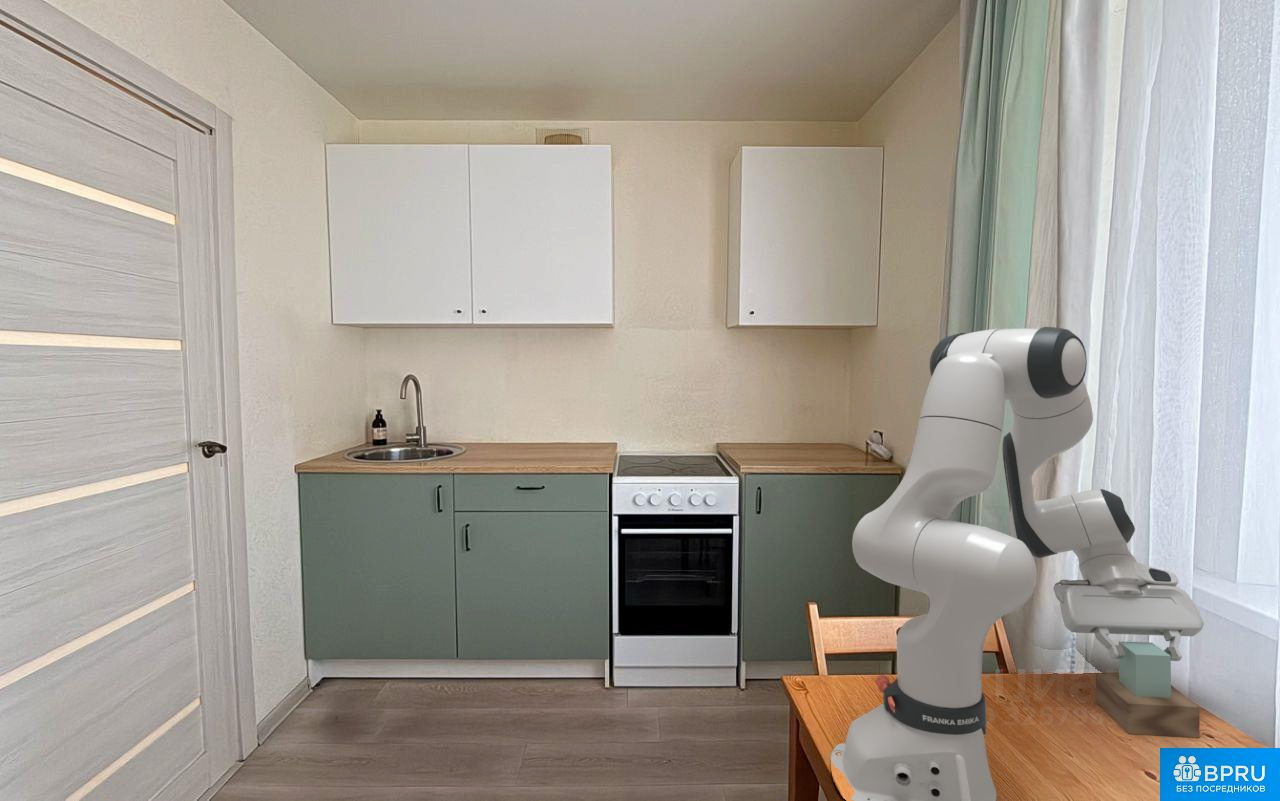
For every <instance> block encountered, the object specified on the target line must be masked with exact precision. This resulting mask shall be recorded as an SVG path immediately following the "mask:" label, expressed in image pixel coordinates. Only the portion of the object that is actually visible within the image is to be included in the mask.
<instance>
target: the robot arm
mask: <svg viewBox="0 0 1280 801" xmlns="http://www.w3.org/2000/svg"><path fill="white" fill-rule="evenodd" d="M930 355H931V356H930V359H929V370H930V376H931V377H930V380H929V384H928V386H927V389H926V392H925V395H924V398H923V402H922V405H921V410H920V414H919V417H918V418H919V419H918V424H917V429H916V434H915V439H914V442H913V448H912V453H911V456H910V460H909V464H908V466H907V469H906V471H905V474H904V475H903V477H902V479H901V481H900V483H899V485H897V487H896V489H895V490H894V491H893V493H892V494H891V495H890V496H889V498H888V499H886V500H885V502H884V503H883V504H881V505H880V506H879V507H877V508H875V509H874V510H872V511H869V512H868V513H867V514H864V516H863V517H862V518H861V519H860V520H859V521H858V523H857V525H856V527H854V528H855V529H854V530H853V532H852V533H853V534H852V541H851V544H852V545H851V547H852V554H853V557H854V559H855V561H856V563H857V564H858V566H859V567H860V568H861V569H862V570H864V571H865V572H867V573H869V574H871V575H872V576H874V577H876V578H879V580H882V581H884V582H886V583H888V584H892V585H895V586H897V587H898V586H899V587H902V588H905V589H908V590H913V591H915V592H919V593H923V594H925V595H927V597H928V600H929V609H928V613H924V614H919V615H917V616H914V617H912V618H910V619H908V620H907V621H905V622H904V623H903V624H902V625H901V628H899V630H898V633H897V635H896V665H897V666H896V667H897V668H896V669H897V670H896V671H897V673H896V674H897V678H896V679H895V680H893V682H890V678H888V676H887V675H885V674H879V675H878V676H877V677H876V678H875V684H876V686H877V689H878V690H879V692H881V694H882V695H883V697H882V699H883V700H882V701H883V703H882V704H880V705H879V706H876V707H875V708H873V709H872V710H869V711H867V712H866V713H865V714H864V713H863V715H861V716H858V717H857V718H855V719H854V720H853V721H852V722H851V723H850V725H849V728H848V730H847V734H846V740H845V742H841V743H838V744H836V745H835V747H834V748H833V750H832V751H831V754H830V760H831V762H832V763H833V764H834V766H835V768H838V769H839V771H840V772H841V771H842V772H843V774H844V776H845V777H846V779H847V781H848V782H849V784H850V785H851V786H852V789H854V792H855V794H854V795H853V796H852V798H851V800H853V801H997V797H998V794H997V789H996V786H995V784H994V780H993V778H992V774H991V769H990V766H989V761H988V756H987V750H986V741H985V735H986V734H987V721H988V718H987V717H988V716H987V715H988V714H987V712H988V711H987V702H986V697H985V694H984V693H983V692H982V685H983V684H982V678H983V677H982V675H983V674H982V673H983V672H982V669H983V653H984V645H985V641H986V640H987V636H988V633H989V632H990V630H991V629H992V627H993V626H994V625H995V623H997V622H998V620H999V619H1002V617H1004V616H1006V615H1008V614H1009V613H1012V612H1015V611H1017V610H1018V609H1020V608H1021V607H1022V606H1023V605H1025V604H1026V603H1027V602H1028V601H1029V600H1030V598H1031V597H1032V595H1033V593H1034V591H1035V589H1036V585H1037V581H1038V571H1037V570H1038V569H1037V564H1036V561H1035V558H1037V559H1042V558H1045V557H1050V556H1053V555H1057V554H1059V553H1065V552H1070V551H1072V552H1073V553H1074V554H1075V555H1076V557H1077V560H1078V568H1079V571H1080V574H1081V577H1082V579H1071V580H1070V579H1060V580H1059V581H1058V582H1056V583H1054V585H1053V592H1054V595H1055V598H1056V599H1057V600H1058V601H1059V606H1060V613H1061V616H1062V620H1063V623H1064V627H1065V628H1066V629H1067V630H1068V631H1070V632H1071V633H1075V634H1076V633H1077V634H1078V633H1080V634H1081V633H1082V634H1094V637H1095V639H1096V640H1097V641H1098V642H1099V643H1100V644H1101V645H1102V646H1103V647H1105V648H1106V649H1107V651H1108V654H1109V656H1110V658H1111V659H1115V660H1119V659H1123V657H1125V653H1124V651H1122V650H1123V648H1122V646H1121V645H1119V644H1116V643H1115V642H1114V641H1113V640H1112V639H1111V638H1110V637H1109V636H1110V635H1111V634H1112V635H1115V634H1116V635H1132V636H1133V635H1136V636H1137V635H1139V636H1142V635H1143V636H1163V638H1164V640H1165V641H1166V642H1169V645H1168V646H1167V647H1166V648H1165V649H1164V650H1163V651H1165V652H1166V653H1167V654H1169V655H1170V656H1171V662H1180V661H1181V660H1182V659H1183V658H1182V657H1183V656H1182V653H1181V651H1180V649H1179V646H1180V643H1181V642H1180V641H1181V637H1194V636H1196V635H1197V634H1198V633H1200V632H1201V631H1202V629H1203V627H1204V621H1203V618H1202V616H1201V614H1200V612H1199V610H1198V608H1197V606H1196V604H1195V602H1194V601H1193V600H1192V597H1190V595H1189V594H1188V593H1187V592H1186V591H1185V590H1184V589H1183V588H1181V587H1180V586H1177V585H1178V584H1179V579H1178V577H1177V574H1175V573H1174V572H1172V571H1169V570H1164V569H1161V568H1160V569H1159V568H1156V567H1152V566H1150V565H1145V564H1143V563H1141V562H1137V559H1136V558H1135V556H1134V555H1132V553H1131V552H1130V550H1129V547H1128V544H1129V542H1130V541H1131V540H1132V537H1133V535H1134V533H1135V531H1136V527H1135V525H1134V523H1133V522H1132V520H1131V518H1130V516H1129V515H1128V513H1127V511H1126V508H1125V505H1124V502H1123V500H1122V498H1121V497H1120V496H1118V495H1116V494H1115V493H1113V492H1110V491H1108V490H1106V489H1102V488H1100V489H1096V488H1095V489H1090V490H1085V491H1081V492H1076V493H1071V494H1068V495H1062V496H1059V497H1057V496H1056V497H1054V498H1048V499H1044V500H1035V496H1034V488H1033V487H1034V486H1033V475H1034V473H1035V472H1036V471H1037V470H1038V469H1039V468H1041V466H1043V465H1044V464H1045V463H1047V462H1049V461H1050V460H1052V459H1054V458H1055V457H1057V456H1059V455H1060V454H1063V453H1065V452H1067V451H1069V450H1071V449H1072V448H1074V447H1075V446H1076V445H1077V444H1078V443H1080V441H1082V440H1083V439H1084V437H1085V436H1086V435H1087V434H1088V433H1089V431H1090V429H1091V427H1092V424H1093V420H1094V419H1093V418H1094V416H1093V415H1094V414H1093V409H1092V402H1091V399H1090V395H1089V392H1088V389H1087V387H1086V383H1085V381H1084V378H1085V376H1086V372H1087V366H1088V364H1087V360H1088V358H1087V352H1086V349H1085V345H1084V343H1083V341H1082V340H1081V339H1080V337H1078V336H1077V335H1076V334H1075V333H1073V332H1072V331H1071V330H1069V329H1067V328H1062V327H1055V326H1043V327H1040V328H1027V327H1026V328H1025V327H1024V328H1001V327H1000V328H993V329H992V328H991V329H985V330H977V331H973V332H968V333H966V332H959V333H956V334H953V335H952V334H951V335H949V336H946V337H944V338H942V339H941V340H940V341H938V343H937V345H936V346H935V347H934V348H933V350H932V353H931V354H930ZM1006 400H1008V401H1009V403H1010V407H1011V409H1012V412H1013V424H1012V426H1011V429H1010V431H1008V433H1006V434H1005V435H1004V436H1003V438H1002V432H1003V425H1004V418H1005V403H1006V402H1005V401H1006ZM1001 438H1002V439H1001ZM1001 440H1002V449H1001V450H1002V459H1003V469H1004V476H1005V483H1006V489H1007V490H1006V491H1007V497H1008V504H1009V530H1010V533H1011V535H1009V534H1006V533H1004V532H1001V531H998V530H995V529H993V528H990V527H988V526H983V525H977V524H972V523H966V522H961V521H956V520H949V519H950V517H951V515H952V513H953V511H954V510H955V509H956V507H957V506H958V505H959V504H960V503H961V502H963V500H966V499H968V498H970V497H973V496H977V495H979V494H981V493H983V492H984V491H986V490H987V489H988V488H989V487H990V486H991V484H992V483H993V482H994V479H995V475H996V469H997V463H998V458H999V452H1000V451H999V450H1000V444H1001ZM836 753H840V754H841V755H840V756H838V755H836ZM854 792H853V793H854Z"/></svg>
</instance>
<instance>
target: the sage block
mask: <svg viewBox="0 0 1280 801" xmlns="http://www.w3.org/2000/svg"><path fill="white" fill-rule="evenodd" d="M1118 645H1121V646H1122V648H1123V650H1122V651H1124V653H1125V657H1123V659H1118V660H1119V661H1118V667H1119V668H1118V675H1119V682H1120V683H1122V684H1123V685H1124V686H1125V687H1126V688H1127V689H1128V690H1129V691H1131V692H1132V693H1133V694H1134V695H1135V696H1139V697H1160V698H1171V685H1172V682H1171V680H1172V676H1171V675H1172V672H1171V671H1172V667H1171V666H1172V665H1171V664H1172V661H1171V656H1170V655H1169V654H1167V653H1166V652H1165V651H1164V650H1163V649H1162V648H1161V647H1159V646H1157V645H1156V644H1155V643H1153V642H1144V641H1143V642H1141V641H1140V642H1139V641H1118Z"/></svg>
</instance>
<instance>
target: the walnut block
mask: <svg viewBox="0 0 1280 801" xmlns="http://www.w3.org/2000/svg"><path fill="white" fill-rule="evenodd" d="M1095 702H1096V703H1097V704H1098V706H1100V707H1101V708H1102V709H1103V710H1104V712H1105V713H1107V714H1108V715H1109V716H1110V717H1111V718H1112V719H1113V720H1114V721H1115V722H1116V723H1117V724H1118V725H1119V726H1120V727H1121V728H1122V729H1123V730H1124V731H1125V732H1126V733H1127V734H1128V735H1138V736H1139V735H1141V736H1159V737H1176V738H1177V737H1179V738H1192V737H1199V738H1200V706H1199V705H1198V704H1196V703H1194V701H1192V700H1191V699H1190V698H1189V697H1187V696H1186V695H1184V693H1182V692H1181V691H1180V690H1178V689H1177V688H1176V687H1174V686H1173V685H1172V684H1171V698H1160V697H1139V696H1135V695H1134V694H1133V693H1132V692H1131V691H1129V690H1128V689H1127V688H1126V687H1125V686H1124V685H1123V684H1122V683H1120V682H1119V674H1106V673H1105V674H1104V673H1102V674H1101V673H1096V674H1095Z"/></svg>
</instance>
